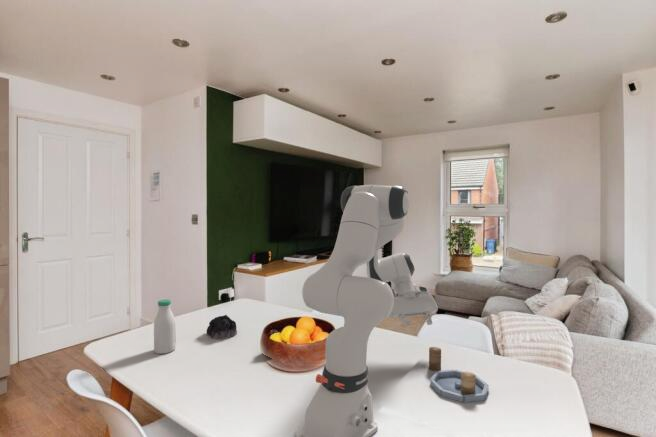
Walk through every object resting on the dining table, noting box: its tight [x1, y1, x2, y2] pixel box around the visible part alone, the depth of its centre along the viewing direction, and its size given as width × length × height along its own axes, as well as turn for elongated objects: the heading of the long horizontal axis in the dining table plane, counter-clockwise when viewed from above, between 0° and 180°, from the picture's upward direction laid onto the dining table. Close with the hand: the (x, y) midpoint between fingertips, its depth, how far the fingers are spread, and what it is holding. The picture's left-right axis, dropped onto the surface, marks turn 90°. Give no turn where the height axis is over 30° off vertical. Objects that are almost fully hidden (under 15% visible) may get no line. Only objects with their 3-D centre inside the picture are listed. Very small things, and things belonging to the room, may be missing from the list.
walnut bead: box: [428, 346, 442, 372], centre depth 120 cm, size 4×4×8 cm
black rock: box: [206, 314, 238, 340], centre depth 154 cm, size 13×14×10 cm
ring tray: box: [429, 369, 489, 403], centre depth 107 cm, size 16×16×3 cm
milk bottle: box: [153, 299, 177, 355], centre depth 136 cm, size 8×8×20 cm
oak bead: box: [461, 371, 477, 395], centre depth 103 cm, size 4×4×6 cm
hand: (419, 325), depth 130 cm, fingers open, 8 cm apart
